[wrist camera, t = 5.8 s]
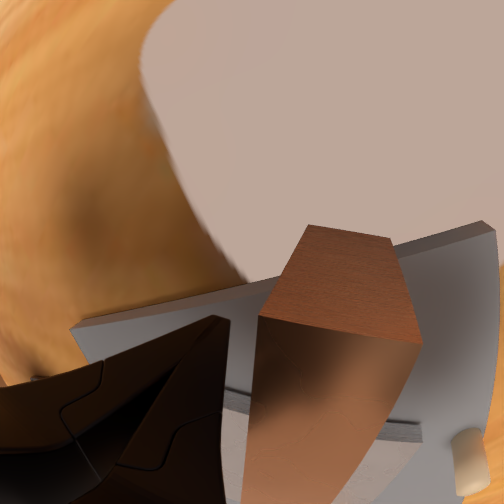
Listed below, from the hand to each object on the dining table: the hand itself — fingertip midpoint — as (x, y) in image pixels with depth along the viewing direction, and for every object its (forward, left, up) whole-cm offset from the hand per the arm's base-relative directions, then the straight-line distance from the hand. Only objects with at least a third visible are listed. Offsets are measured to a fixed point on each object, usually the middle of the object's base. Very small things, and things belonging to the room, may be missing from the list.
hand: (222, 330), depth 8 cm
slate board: (-2, -10, -4) cm, 11 cm away
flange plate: (0, -7, -2) cm, 7 cm away
